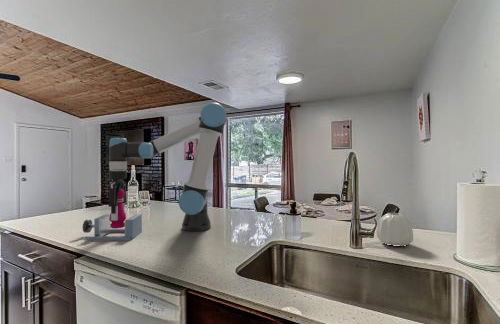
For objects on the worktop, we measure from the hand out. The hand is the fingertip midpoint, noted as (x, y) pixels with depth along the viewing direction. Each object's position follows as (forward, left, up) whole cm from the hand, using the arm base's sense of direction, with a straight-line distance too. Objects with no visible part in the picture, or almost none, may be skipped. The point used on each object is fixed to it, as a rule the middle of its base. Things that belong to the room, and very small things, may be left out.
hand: (117, 218), depth 131 cm
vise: (0, 0, -8) cm, 8 cm away
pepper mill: (0, 0, -4) cm, 4 cm away
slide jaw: (+10, 0, -8) cm, 13 cm away
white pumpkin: (-125, +18, -9) cm, 127 cm away
